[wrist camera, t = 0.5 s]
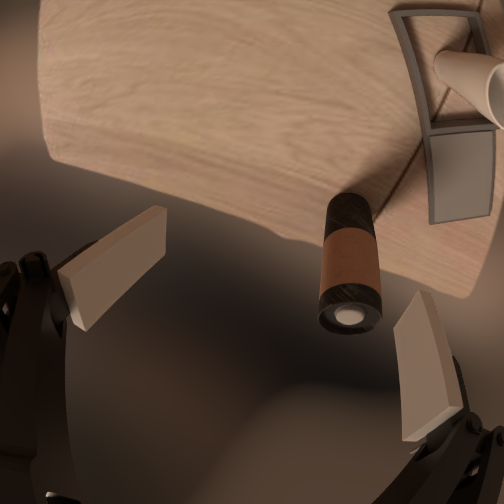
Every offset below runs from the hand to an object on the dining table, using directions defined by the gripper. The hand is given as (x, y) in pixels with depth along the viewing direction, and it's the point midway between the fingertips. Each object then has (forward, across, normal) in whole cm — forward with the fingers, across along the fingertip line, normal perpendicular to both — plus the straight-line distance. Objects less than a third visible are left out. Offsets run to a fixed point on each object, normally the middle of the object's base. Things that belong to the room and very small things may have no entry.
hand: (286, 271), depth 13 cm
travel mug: (+32, +7, -6) cm, 33 cm away
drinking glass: (+24, +13, +20) cm, 34 cm away
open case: (+27, +18, +14) cm, 35 cm away
